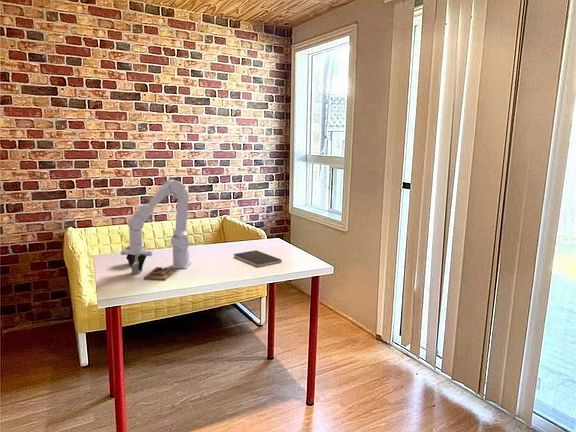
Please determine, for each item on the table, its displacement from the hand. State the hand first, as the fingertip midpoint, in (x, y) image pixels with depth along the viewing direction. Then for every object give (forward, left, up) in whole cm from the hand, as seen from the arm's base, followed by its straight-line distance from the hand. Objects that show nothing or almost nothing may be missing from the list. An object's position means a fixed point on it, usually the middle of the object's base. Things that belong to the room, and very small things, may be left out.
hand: (137, 269), depth 198 cm
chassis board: (+2, +12, -1) cm, 12 cm away
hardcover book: (-31, +54, -2) cm, 62 cm away
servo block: (0, 0, -1) cm, 1 cm away
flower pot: (-14, -7, -2) cm, 16 cm away
